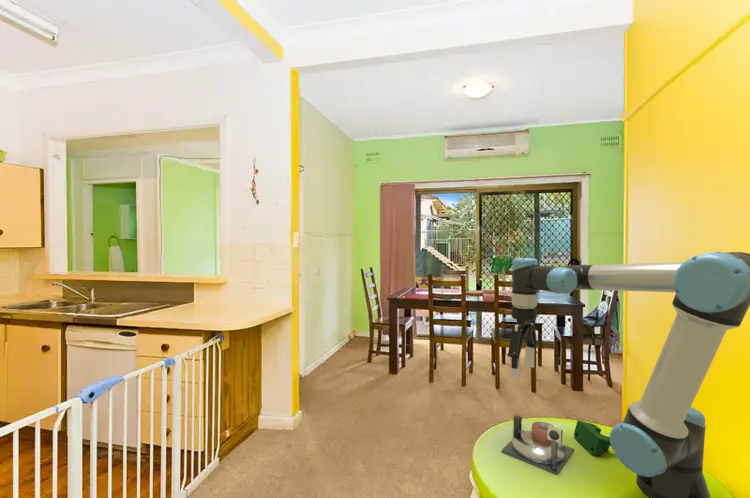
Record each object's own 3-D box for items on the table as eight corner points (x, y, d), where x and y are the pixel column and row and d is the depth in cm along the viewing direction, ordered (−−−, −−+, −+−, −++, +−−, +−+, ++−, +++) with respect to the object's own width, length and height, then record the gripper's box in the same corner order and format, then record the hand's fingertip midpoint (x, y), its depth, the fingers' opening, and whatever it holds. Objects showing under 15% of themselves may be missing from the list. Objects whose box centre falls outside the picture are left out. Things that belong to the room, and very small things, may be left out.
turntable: (571, 448, 119) (572, 424, 118) (556, 470, 107) (557, 443, 107) (522, 430, 129) (523, 408, 128) (503, 449, 118) (504, 424, 117)
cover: (558, 437, 122) (559, 423, 121) (551, 446, 116) (552, 432, 116) (536, 429, 126) (536, 416, 126) (527, 438, 121) (528, 424, 121)
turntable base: (575, 451, 118) (576, 412, 118) (558, 475, 107) (560, 432, 106) (521, 432, 129) (523, 396, 129) (501, 452, 117) (502, 413, 117)
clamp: (605, 467, 118) (620, 448, 114) (586, 463, 117) (602, 443, 114) (587, 433, 129) (601, 415, 125) (570, 429, 128) (584, 410, 124)
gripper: (525, 300, 136) (523, 360, 137) (497, 310, 116) (496, 380, 117) (547, 302, 131) (546, 364, 132) (522, 314, 112) (521, 386, 113)
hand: (522, 372), depth 125 cm, fingers open, 13 cm apart
